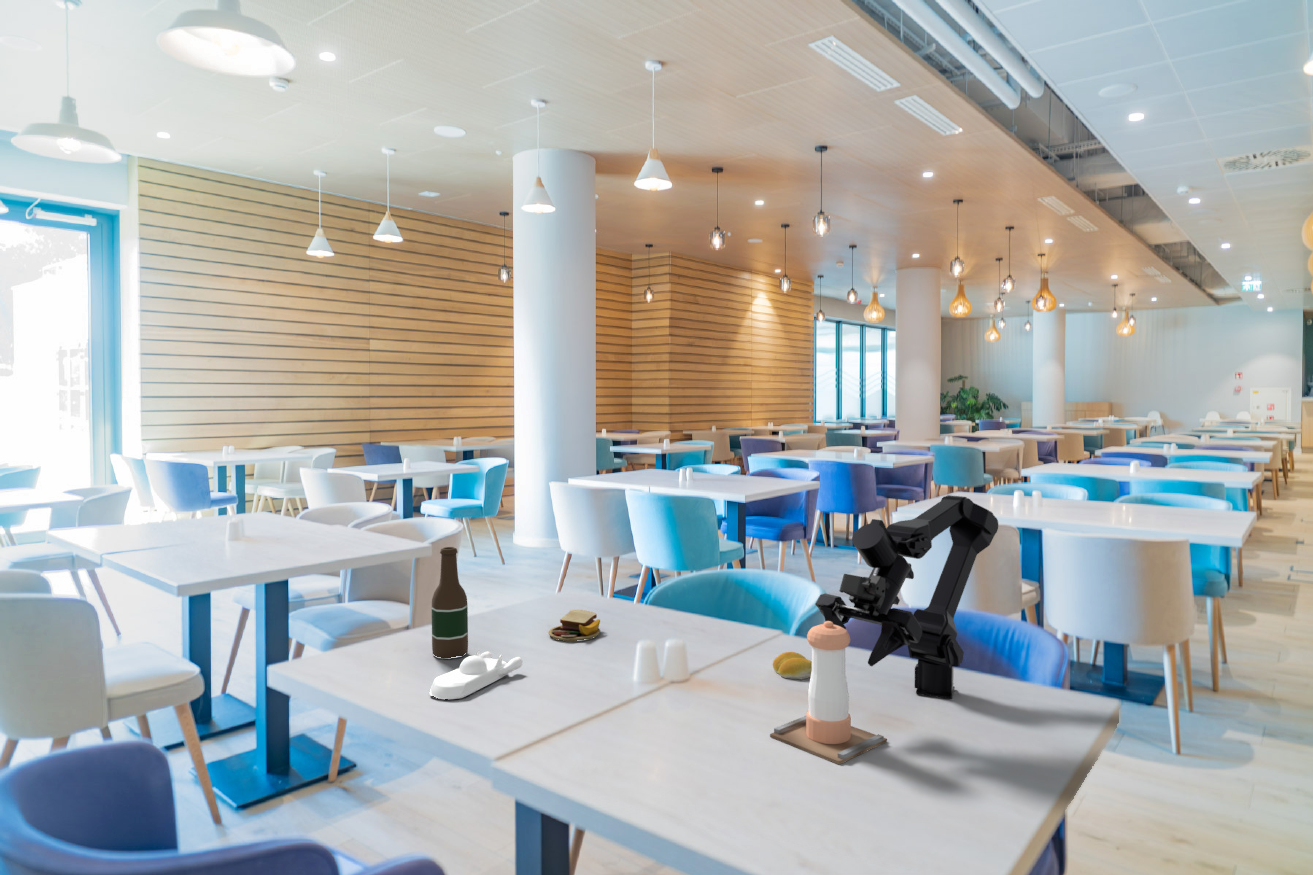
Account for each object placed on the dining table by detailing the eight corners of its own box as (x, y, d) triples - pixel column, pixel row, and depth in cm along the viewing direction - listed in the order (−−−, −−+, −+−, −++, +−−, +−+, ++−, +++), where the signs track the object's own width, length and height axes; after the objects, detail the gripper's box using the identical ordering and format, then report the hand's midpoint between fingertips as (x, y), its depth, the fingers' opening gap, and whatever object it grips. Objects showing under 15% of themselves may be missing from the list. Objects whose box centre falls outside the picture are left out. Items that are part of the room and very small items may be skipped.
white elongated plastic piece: (415, 696, 157) (415, 666, 157) (483, 667, 174) (483, 640, 174) (457, 705, 152) (457, 675, 152) (523, 674, 170) (522, 646, 169)
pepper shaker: (852, 729, 138) (852, 617, 137) (848, 746, 131) (849, 629, 130) (809, 724, 140) (809, 614, 140) (803, 741, 134) (803, 625, 133)
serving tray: (818, 717, 145) (818, 710, 145) (887, 741, 134) (887, 734, 134) (770, 736, 137) (770, 729, 137) (838, 764, 126) (838, 756, 126)
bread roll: (786, 682, 164) (786, 662, 164) (767, 668, 172) (767, 650, 172) (823, 678, 166) (823, 658, 166) (803, 664, 175) (803, 646, 175)
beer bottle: (475, 652, 183) (474, 546, 182) (449, 662, 177) (448, 552, 176) (450, 647, 188) (449, 543, 187) (424, 656, 181) (423, 548, 180)
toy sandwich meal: (537, 638, 195) (537, 619, 195) (571, 625, 207) (570, 607, 207) (580, 646, 189) (580, 626, 189) (612, 632, 201) (612, 613, 200)
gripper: (821, 549, 148) (781, 620, 141) (913, 564, 134) (874, 643, 127) (847, 585, 153) (810, 655, 147) (938, 603, 139) (902, 681, 133)
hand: (846, 658), depth 138 cm, fingers open, 9 cm apart
